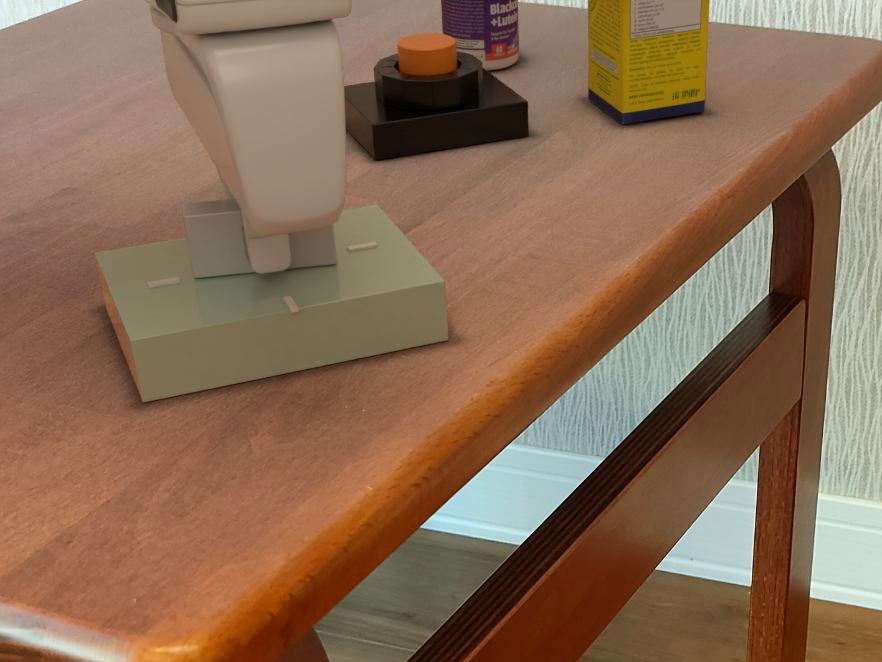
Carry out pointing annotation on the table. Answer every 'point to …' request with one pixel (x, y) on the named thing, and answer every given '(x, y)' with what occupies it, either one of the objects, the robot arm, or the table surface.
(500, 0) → the pill bottle
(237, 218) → the red-button grey box
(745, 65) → the table surface
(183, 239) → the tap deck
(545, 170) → the table surface
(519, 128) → the button block
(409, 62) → the button
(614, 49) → the supplement box
